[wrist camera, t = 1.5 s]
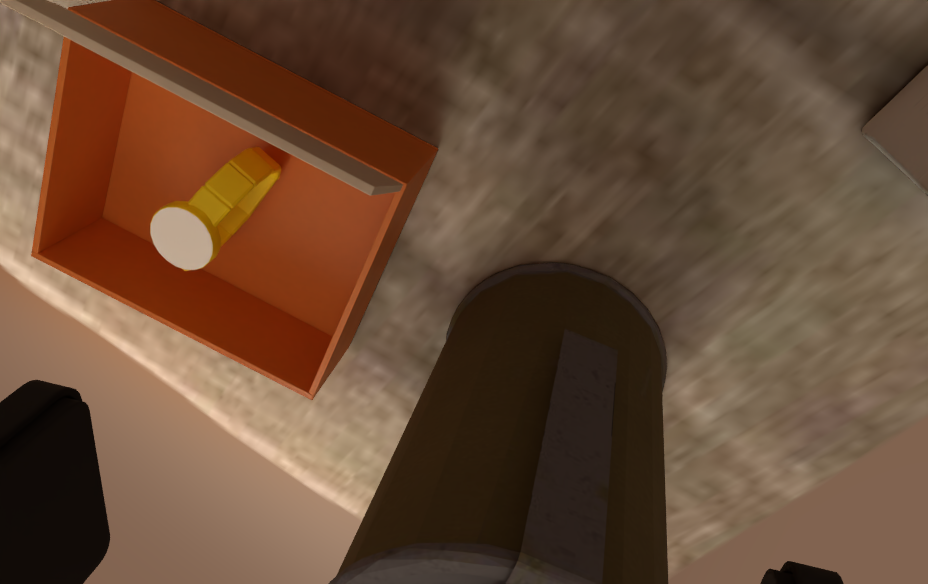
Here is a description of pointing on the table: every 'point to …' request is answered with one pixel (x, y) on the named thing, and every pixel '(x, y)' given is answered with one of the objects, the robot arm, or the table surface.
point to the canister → (529, 445)
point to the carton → (188, 169)
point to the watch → (213, 210)
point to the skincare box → (905, 130)
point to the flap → (205, 95)
